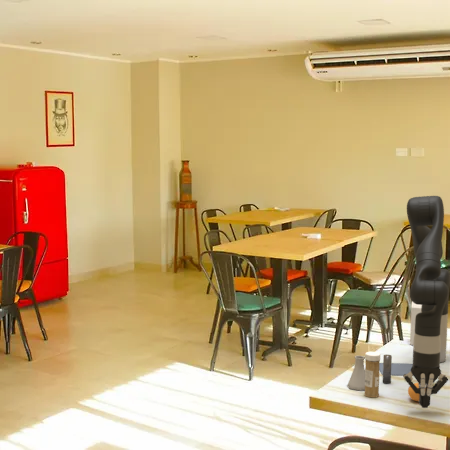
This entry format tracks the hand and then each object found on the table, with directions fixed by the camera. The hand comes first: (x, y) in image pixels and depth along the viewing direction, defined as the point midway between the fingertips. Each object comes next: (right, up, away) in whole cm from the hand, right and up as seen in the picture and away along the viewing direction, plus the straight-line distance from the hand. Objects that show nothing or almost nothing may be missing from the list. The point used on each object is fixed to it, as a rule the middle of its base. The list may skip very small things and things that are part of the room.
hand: (424, 406), depth 207 cm
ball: (0, +2, +9) cm, 9 cm away
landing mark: (+2, +3, +39) cm, 39 cm away
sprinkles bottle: (-13, 0, +14) cm, 18 cm away
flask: (-15, +1, +21) cm, 26 cm away
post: (-5, +1, +25) cm, 26 cm away
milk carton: (+18, +6, +71) cm, 74 cm away
